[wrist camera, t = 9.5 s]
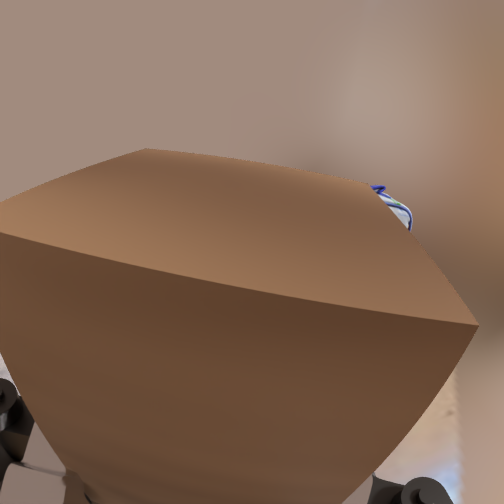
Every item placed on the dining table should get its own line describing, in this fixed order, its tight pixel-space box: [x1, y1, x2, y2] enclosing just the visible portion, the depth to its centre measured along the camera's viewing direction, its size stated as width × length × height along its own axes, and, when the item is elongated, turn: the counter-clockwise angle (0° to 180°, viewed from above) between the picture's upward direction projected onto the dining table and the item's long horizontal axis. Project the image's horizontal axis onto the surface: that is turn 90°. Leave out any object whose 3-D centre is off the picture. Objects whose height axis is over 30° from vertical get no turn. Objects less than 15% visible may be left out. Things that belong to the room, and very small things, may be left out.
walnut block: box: [0, 149, 479, 504], centre depth 7 cm, size 4×4×14 cm
